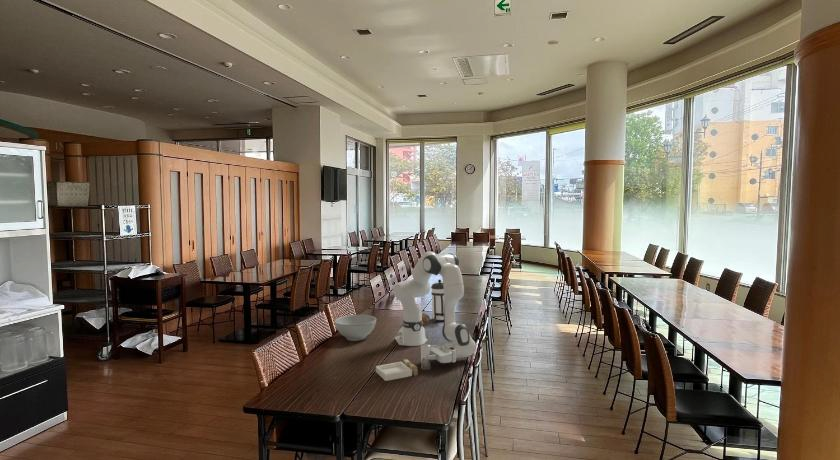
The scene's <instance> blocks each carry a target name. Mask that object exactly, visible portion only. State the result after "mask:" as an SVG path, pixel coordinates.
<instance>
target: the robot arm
mask: <svg viewBox="0 0 840 460" xmlns="http://www.w3.org/2000/svg"><path fill="white" fill-rule="evenodd" d="M459 266H460V260H459V257H458V256H457V255H456V254H455V253H452V252H449V253H447V252H445V253H442V252H441V253H436V252H434V251H430V250H429V251H426V252H424V253H423V254H422V255H421V257H420V258H419V259H418V261H417V262H416V264H415V266H414V267H413V269H412V270H411V276H412V279H408V280H403V281H399V282H397V283H395V284H394V285H393V288H392V293H393V296H394V297H395V298H396V300H398V301H399V302H400V304H401V305H402V310H403V312H402V313H403V320H402V327H400V328H399V330H398V331H397V333H396V334H397V336H395V341H396V342H397V344H398V345H399V346H407V347H417V346H421V344H426V342H428V338H427V337H426V329H425V328H424V327H425V326H423V320H422V314H423V313H422V310H423V309H422V306H421V305H420V304H418V303H417V302H416V299H415V298H420V297H423V296H427V295H428V294H429V293H430V292H431V283H430V281H429V279H430V278H431V276H432V275H433V276H438V275H439V276H441V278H442V283H443V288H444V301H443V308H444V320H443V325H442V332H441V333H442V337H443V338H444V340H446V341H447V342H445V343H442V344H441V346H440V345H438V344H430V355H427V356H426V358H427V359H431V360H436V361H437V362H439V363H441V364H447V363H448V364H449V363H456V361H457V359H458V358H459V359H462V358H463V359H464V358H467V357H470V355H471V356H473V355H474V354H475V352H476V350H477V344H476V342H475V340H474V339H473V338H472V336H471V332H470V329H469V326H468V325H466V324H463V323H457V322H456V310H455V308H456V305H457V303H458V302H459V301H460V300H461V299H462V298H463V297H464V294H465V286H464V280H463V279H464V278H463V273H462V272H461V269H460V267H459ZM444 285H446V286H444ZM473 353H474V354H473ZM472 354H473V355H472Z"/></svg>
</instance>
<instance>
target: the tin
mask: <svg viewBox="0 0 840 460" xmlns="http://www.w3.org/2000/svg"><path fill="white" fill-rule="evenodd" d="M422 320H423V327H425V326H428V325H429V323H430V322H431V318H430V316H429V315H428V314H426V313H422Z"/></svg>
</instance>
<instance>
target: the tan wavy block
mask: <svg viewBox="0 0 840 460" xmlns="http://www.w3.org/2000/svg"><path fill="white" fill-rule="evenodd" d="M402 363H403V364H405V365H406V366H407V367H409V368H410V369H411V370H412V376H418V372H419V371H418V367H417V365H415V364H414V363H413V362H411V361H410V360H409V359H407V358H403V359H402Z"/></svg>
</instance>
